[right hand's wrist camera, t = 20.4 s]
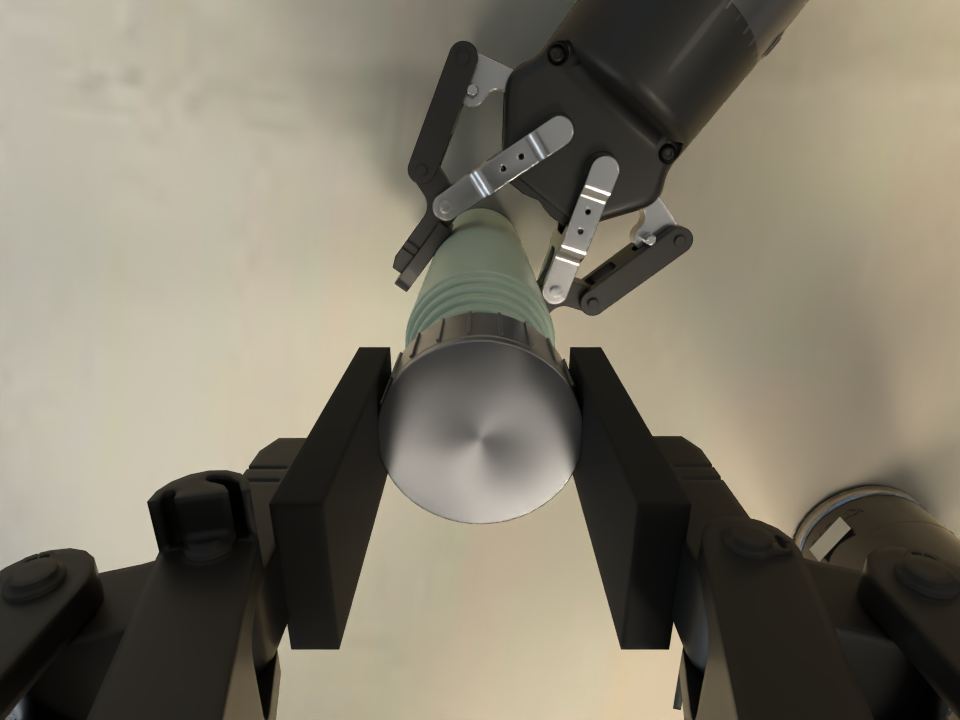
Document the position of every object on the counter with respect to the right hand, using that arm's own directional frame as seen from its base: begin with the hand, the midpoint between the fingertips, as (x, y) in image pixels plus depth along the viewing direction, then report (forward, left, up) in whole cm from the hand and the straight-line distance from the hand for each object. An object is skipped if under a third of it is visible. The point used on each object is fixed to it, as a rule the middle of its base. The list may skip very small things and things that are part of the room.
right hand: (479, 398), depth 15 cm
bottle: (0, 0, -21) cm, 21 cm away
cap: (0, 0, +2) cm, 2 cm away
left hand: (-1, +2, -14) cm, 15 cm away
